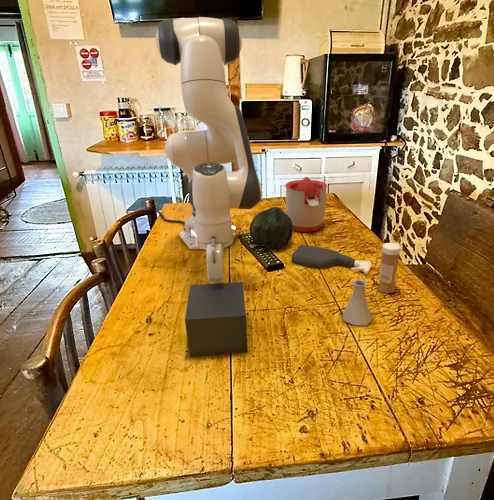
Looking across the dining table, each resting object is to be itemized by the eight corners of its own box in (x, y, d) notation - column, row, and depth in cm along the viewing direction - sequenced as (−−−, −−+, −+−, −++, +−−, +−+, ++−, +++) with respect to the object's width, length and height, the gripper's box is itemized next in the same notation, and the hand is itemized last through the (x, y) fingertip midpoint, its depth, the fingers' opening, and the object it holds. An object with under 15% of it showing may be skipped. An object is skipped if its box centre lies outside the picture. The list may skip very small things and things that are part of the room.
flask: (369, 329, 94) (373, 292, 89) (339, 323, 96) (342, 287, 92) (373, 313, 100) (377, 278, 96) (345, 307, 102) (347, 273, 98)
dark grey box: (193, 318, 99) (190, 284, 95) (244, 314, 100) (242, 281, 96) (189, 356, 85) (184, 319, 81) (247, 352, 87) (245, 315, 83)
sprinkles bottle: (398, 290, 109) (404, 246, 104) (386, 295, 107) (392, 250, 102) (385, 283, 113) (390, 240, 107) (374, 288, 111) (379, 244, 105)
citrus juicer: (293, 238, 144) (293, 185, 136) (280, 222, 160) (280, 173, 151) (333, 234, 148) (336, 181, 139) (317, 218, 163) (319, 170, 155)
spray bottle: (301, 250, 134) (373, 264, 125) (288, 263, 125) (366, 279, 116) (301, 242, 133) (374, 256, 124) (289, 255, 124) (367, 270, 115)
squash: (246, 222, 145) (250, 200, 131) (285, 220, 148) (294, 199, 134) (250, 257, 139) (256, 238, 126) (291, 254, 142) (301, 236, 129)
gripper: (227, 244, 88) (230, 299, 93) (226, 218, 107) (229, 265, 112) (198, 246, 88) (203, 301, 93) (203, 219, 107) (207, 266, 112)
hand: (218, 281), depth 103 cm, fingers closed
